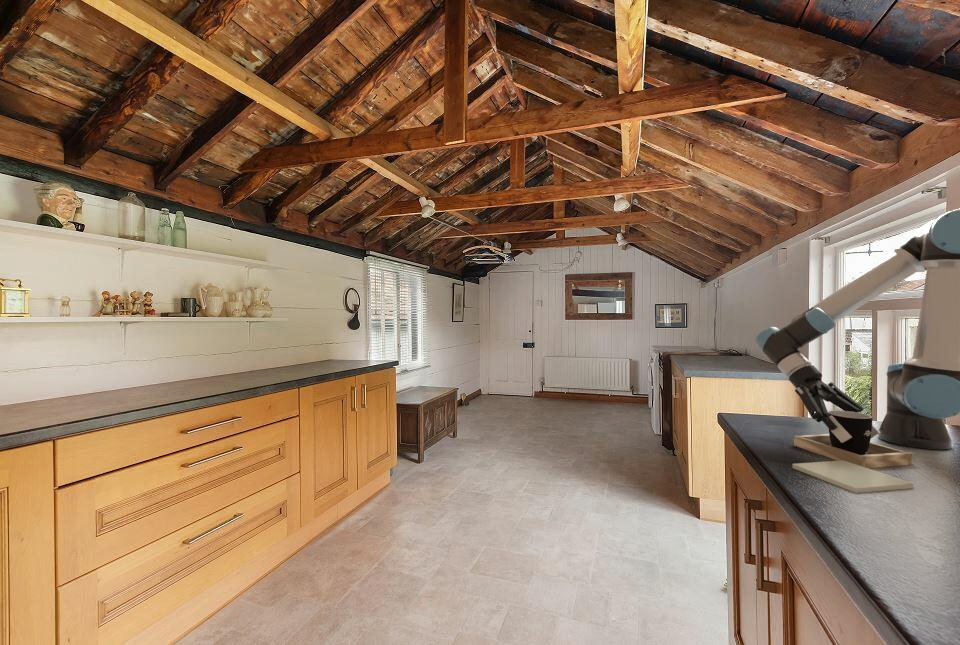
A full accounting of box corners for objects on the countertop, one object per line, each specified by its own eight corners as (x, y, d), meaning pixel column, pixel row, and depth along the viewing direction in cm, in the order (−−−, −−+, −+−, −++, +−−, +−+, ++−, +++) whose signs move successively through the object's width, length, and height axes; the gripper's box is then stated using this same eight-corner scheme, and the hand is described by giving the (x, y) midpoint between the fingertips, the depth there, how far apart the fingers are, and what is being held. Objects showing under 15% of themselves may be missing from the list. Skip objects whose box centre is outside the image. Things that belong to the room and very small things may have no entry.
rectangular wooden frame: (839, 442, 125) (839, 433, 125) (912, 464, 107) (912, 453, 107) (793, 445, 123) (794, 436, 123) (861, 468, 105) (861, 457, 105)
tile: (843, 464, 108) (843, 460, 108) (913, 488, 93) (913, 483, 93) (792, 467, 105) (792, 463, 105) (855, 493, 90) (855, 488, 90)
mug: (869, 460, 108) (869, 420, 108) (824, 451, 114) (824, 414, 114) (875, 449, 116) (876, 412, 115) (833, 442, 122) (833, 407, 122)
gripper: (816, 377, 133) (877, 440, 119) (763, 381, 125) (820, 449, 111) (836, 362, 128) (901, 425, 114) (781, 365, 120) (844, 434, 106)
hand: (861, 437), depth 112 cm, fingers closed on mug, 11 cm apart
